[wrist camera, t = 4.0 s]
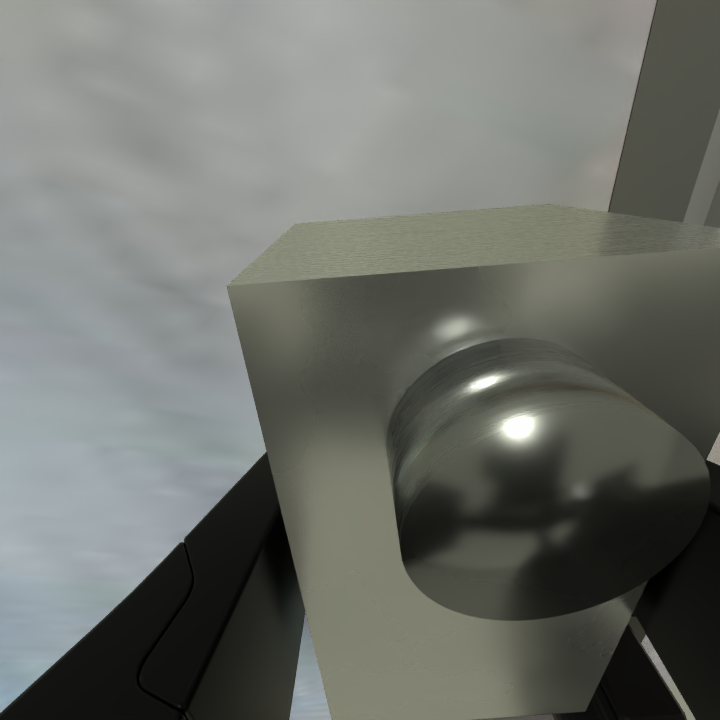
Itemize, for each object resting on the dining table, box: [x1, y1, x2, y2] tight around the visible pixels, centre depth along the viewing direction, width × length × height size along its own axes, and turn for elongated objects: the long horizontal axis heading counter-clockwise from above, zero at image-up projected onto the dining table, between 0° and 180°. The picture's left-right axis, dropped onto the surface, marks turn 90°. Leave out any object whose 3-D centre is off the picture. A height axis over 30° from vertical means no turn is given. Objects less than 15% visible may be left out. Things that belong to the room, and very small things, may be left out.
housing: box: [227, 204, 720, 720], centre depth 7 cm, size 9×5×6 cm, turn 4°
